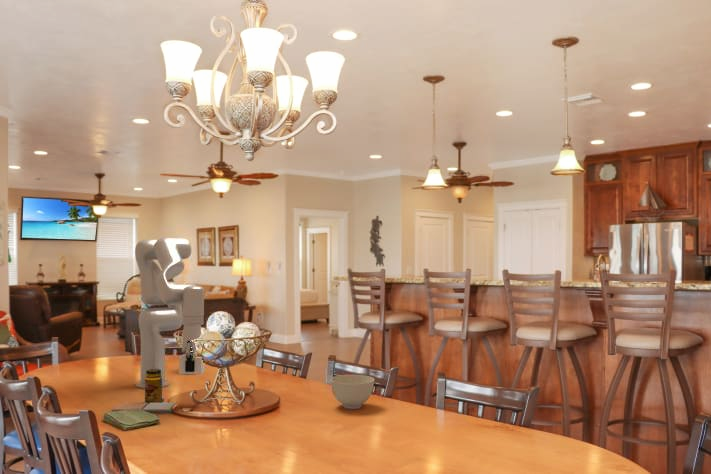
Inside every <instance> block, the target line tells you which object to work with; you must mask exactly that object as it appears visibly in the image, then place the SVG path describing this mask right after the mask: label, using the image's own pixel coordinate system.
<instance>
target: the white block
mask: <svg viewBox="0 0 711 474" xmlns="http://www.w3.org/2000/svg"><path fill="white" fill-rule="evenodd" d="M185 358H186V354H184V353H183V354H181V355H180V356H178V375H187V374H189V375H202V374H204V372H205V371H206V362H205V363H203V360H202V358H201V357H195V356H194V361H195V368H194V372H185Z"/></svg>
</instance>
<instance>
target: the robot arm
mask: <svg viewBox="0 0 711 474" xmlns="http://www.w3.org/2000/svg"><path fill="white" fill-rule="evenodd" d="M191 255H192V244H191V243H190V241H189V240H188V239H186V238H184V237H162V238H159V239H157V238H150V239H149V238H148V239H142V240H140V241H138V242H137V243H136V245H135V249H134V257H135V260H136V264H137V267H138V271H139V277H140V279H139V280H140V295H141V300H142V303H143V304H144V305H147V306H160V305H161V306H163V305H167V307H156V308H155V307H154V308H147V309H144V310H142V311H141V312H140V313H139V315H138V326H139V331H140V374H139V375H140V379H139V380H140V381H138V382H136V385H135V386H136V387H137V388H139V389H145V378H146V371H147V370H150V369H160V370H161V377H162V388H165V387H167V386H169V381H168V380H166V379H165V378H166V376H165V375H166V373H165V371H166V370H165V367H166V360H165V359H166V342H165V339H164V338H163V336H162V334H161V333H160V332H166V331H176V330H179V329H180V328H181V327H182V325H183V330H182V344H181V352H182V353H183V354H184V352H186V358H185V372H194V368H195V361H194V353H195V352H196V347H195V343H194V342H192V341H191V340H194V339H197V338H199V337H200V335H201V336H202V325H204V322H205V321H204V317H205V316H204V315H205V313H204V312H205V310H204V309H205V289H204V287H203V286H199V285H197V284H194V283H179V284H178V283H177V282H175V281H169V280H172V279H173V278H176V277H177V276H179V275H181V274H182V272H184V269H185V262H184V261H183V260H186V259H187V260H188V258H190V257H191ZM155 260H156V261H158V263H156V262H155ZM158 264H159V265H158ZM190 341H191V342H190ZM191 347H192V348H191ZM192 350H193V352H190V351H192ZM191 354H192V355H191Z"/></svg>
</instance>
